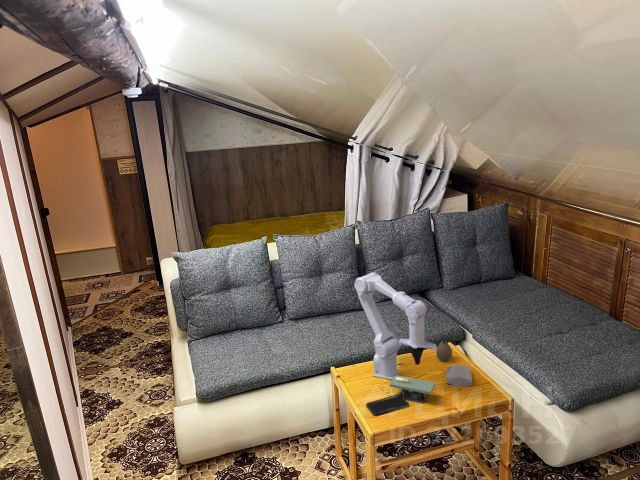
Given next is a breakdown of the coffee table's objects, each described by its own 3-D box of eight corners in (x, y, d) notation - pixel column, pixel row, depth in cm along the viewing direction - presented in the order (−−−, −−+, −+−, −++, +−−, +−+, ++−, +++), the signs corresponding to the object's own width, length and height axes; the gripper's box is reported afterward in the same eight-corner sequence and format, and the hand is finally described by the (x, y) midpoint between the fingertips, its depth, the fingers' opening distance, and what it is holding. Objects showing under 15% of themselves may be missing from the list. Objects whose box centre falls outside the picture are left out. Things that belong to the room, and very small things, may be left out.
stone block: (448, 390, 184) (474, 386, 182) (446, 379, 184) (472, 375, 181) (446, 375, 196) (470, 372, 194) (444, 365, 195) (468, 361, 193)
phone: (364, 403, 175) (399, 393, 180) (365, 406, 175) (399, 396, 180) (374, 415, 168) (410, 404, 172) (374, 417, 168) (410, 407, 173)
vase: (435, 356, 208) (435, 338, 206) (450, 356, 207) (450, 338, 205) (437, 363, 201) (437, 345, 199) (453, 363, 200) (453, 345, 198)
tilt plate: (389, 388, 179) (389, 380, 178) (395, 379, 185) (395, 371, 184) (430, 396, 171) (430, 388, 171) (435, 386, 177) (435, 379, 176)
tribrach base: (397, 398, 178) (397, 390, 177) (402, 388, 184) (402, 381, 183) (423, 403, 174) (422, 396, 173) (427, 393, 180) (427, 386, 179)
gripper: (395, 333, 179) (396, 365, 182) (432, 338, 172) (433, 371, 175) (401, 326, 185) (402, 357, 188) (437, 331, 178) (437, 362, 181)
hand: (417, 363), depth 182 cm, fingers closed
